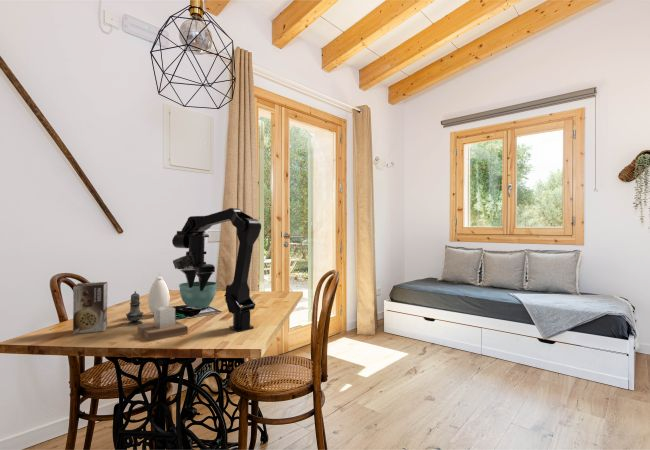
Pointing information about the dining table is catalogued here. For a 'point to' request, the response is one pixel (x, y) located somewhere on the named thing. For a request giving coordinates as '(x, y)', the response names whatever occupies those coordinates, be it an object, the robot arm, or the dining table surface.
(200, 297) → the teal bowl
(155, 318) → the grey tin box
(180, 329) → the walnut block
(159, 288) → the white tall oval piece
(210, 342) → the dining table surface
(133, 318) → the salt shaker
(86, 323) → the coffee box
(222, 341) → the dining table surface
